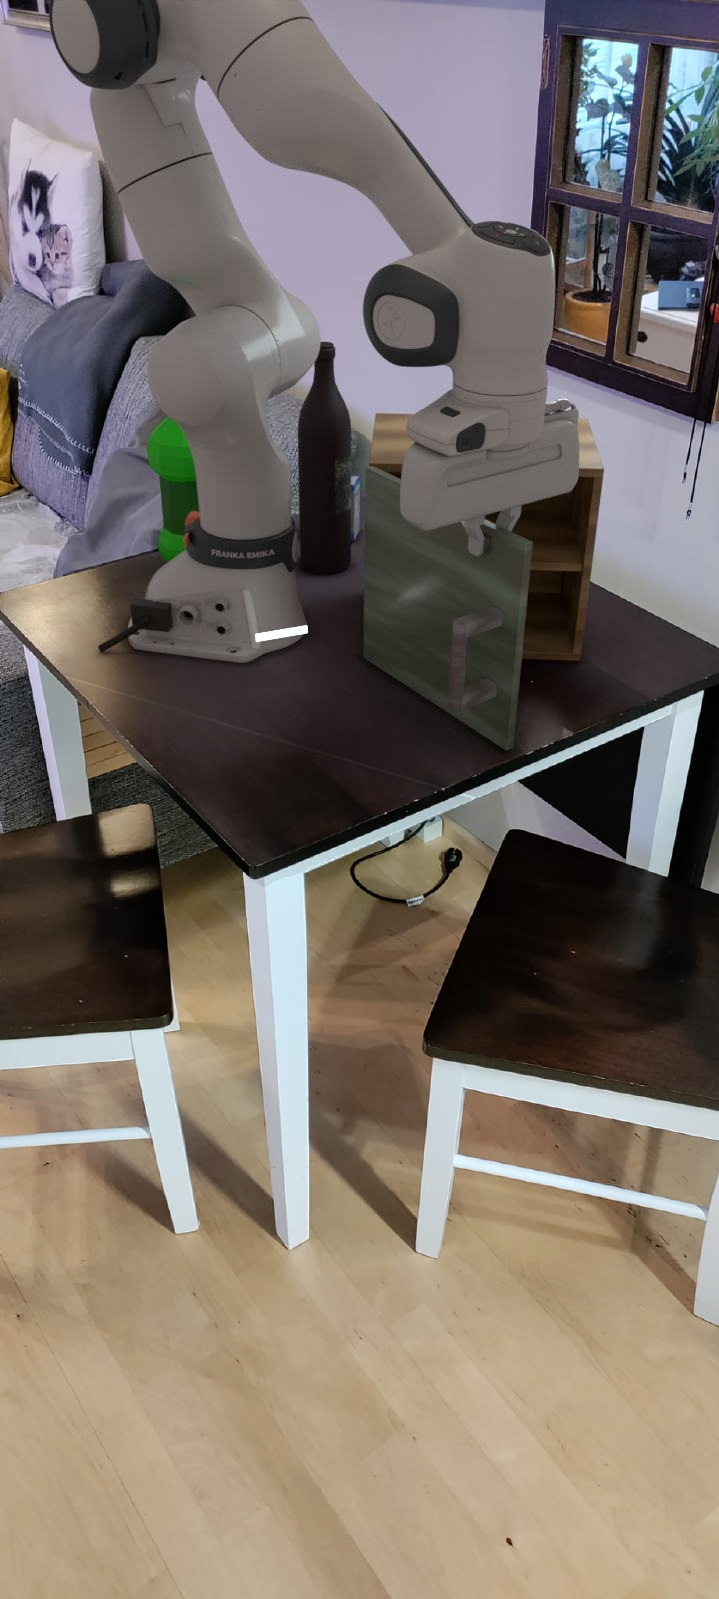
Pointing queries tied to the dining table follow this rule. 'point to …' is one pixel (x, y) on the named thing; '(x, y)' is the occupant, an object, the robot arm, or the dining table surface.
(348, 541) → the wine bottle
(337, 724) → the dining table surface
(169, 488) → the plastic bottle
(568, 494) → the cupboard
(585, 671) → the dining table surface
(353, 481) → the medicine box
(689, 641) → the dining table surface
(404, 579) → the door
